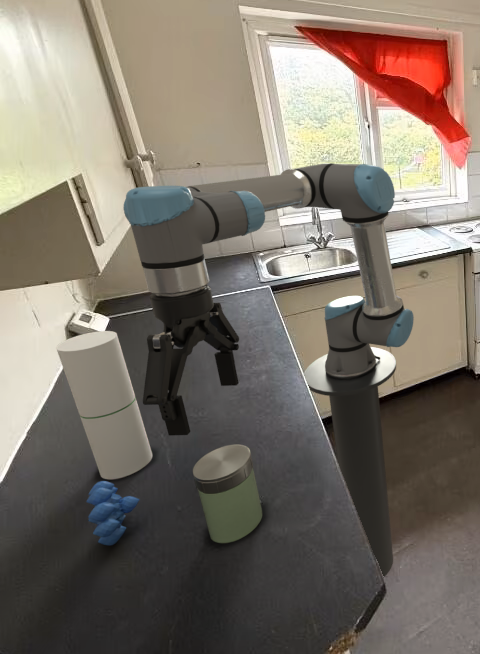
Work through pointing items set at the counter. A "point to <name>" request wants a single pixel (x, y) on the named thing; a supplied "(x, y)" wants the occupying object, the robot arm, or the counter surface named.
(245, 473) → the flask lid
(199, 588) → the counter surface
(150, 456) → the container
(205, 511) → the flask
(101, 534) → the grapes
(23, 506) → the counter surface
